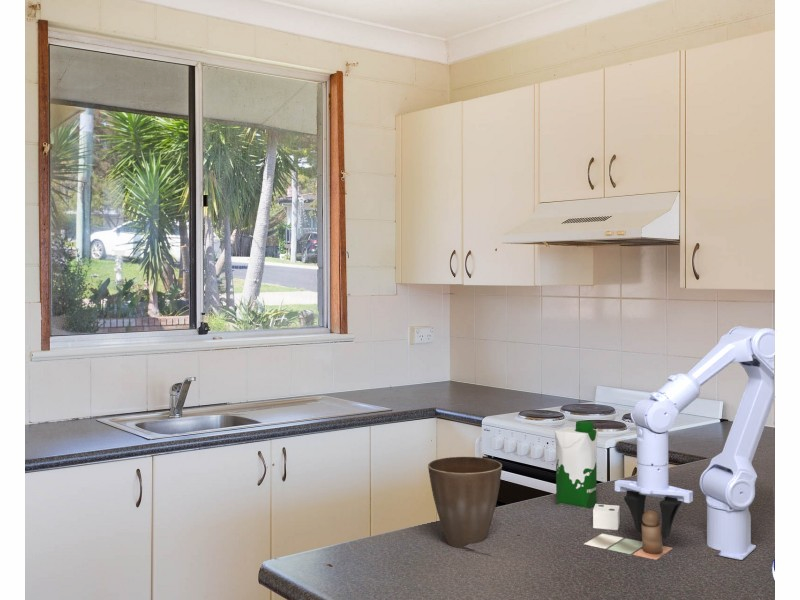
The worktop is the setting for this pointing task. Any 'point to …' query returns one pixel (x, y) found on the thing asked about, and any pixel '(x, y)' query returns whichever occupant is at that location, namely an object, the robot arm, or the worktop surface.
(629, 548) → the board
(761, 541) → the worktop surface
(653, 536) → the pawn
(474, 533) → the plant pot
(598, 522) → the die
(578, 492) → the milk carton
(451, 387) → the worktop surface
